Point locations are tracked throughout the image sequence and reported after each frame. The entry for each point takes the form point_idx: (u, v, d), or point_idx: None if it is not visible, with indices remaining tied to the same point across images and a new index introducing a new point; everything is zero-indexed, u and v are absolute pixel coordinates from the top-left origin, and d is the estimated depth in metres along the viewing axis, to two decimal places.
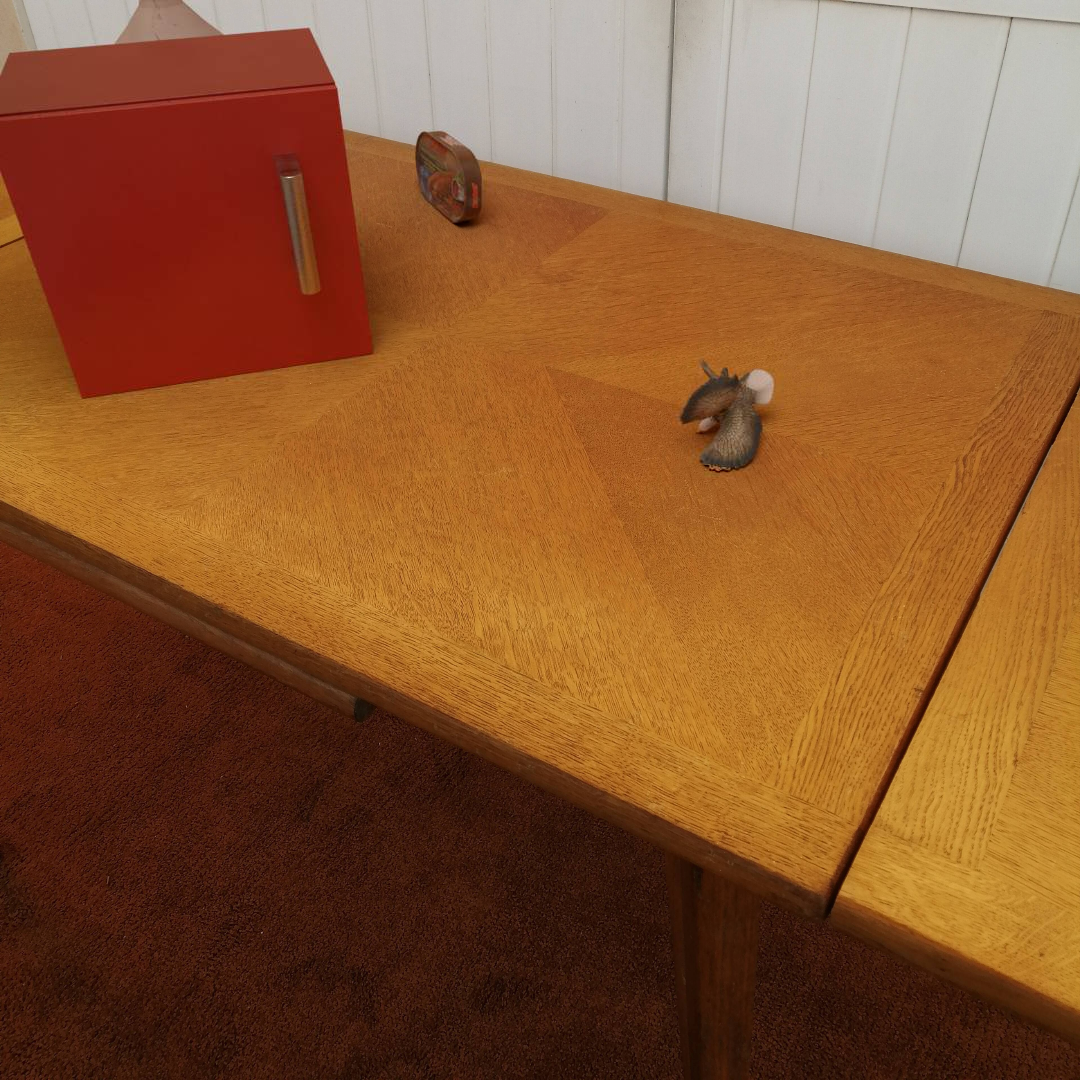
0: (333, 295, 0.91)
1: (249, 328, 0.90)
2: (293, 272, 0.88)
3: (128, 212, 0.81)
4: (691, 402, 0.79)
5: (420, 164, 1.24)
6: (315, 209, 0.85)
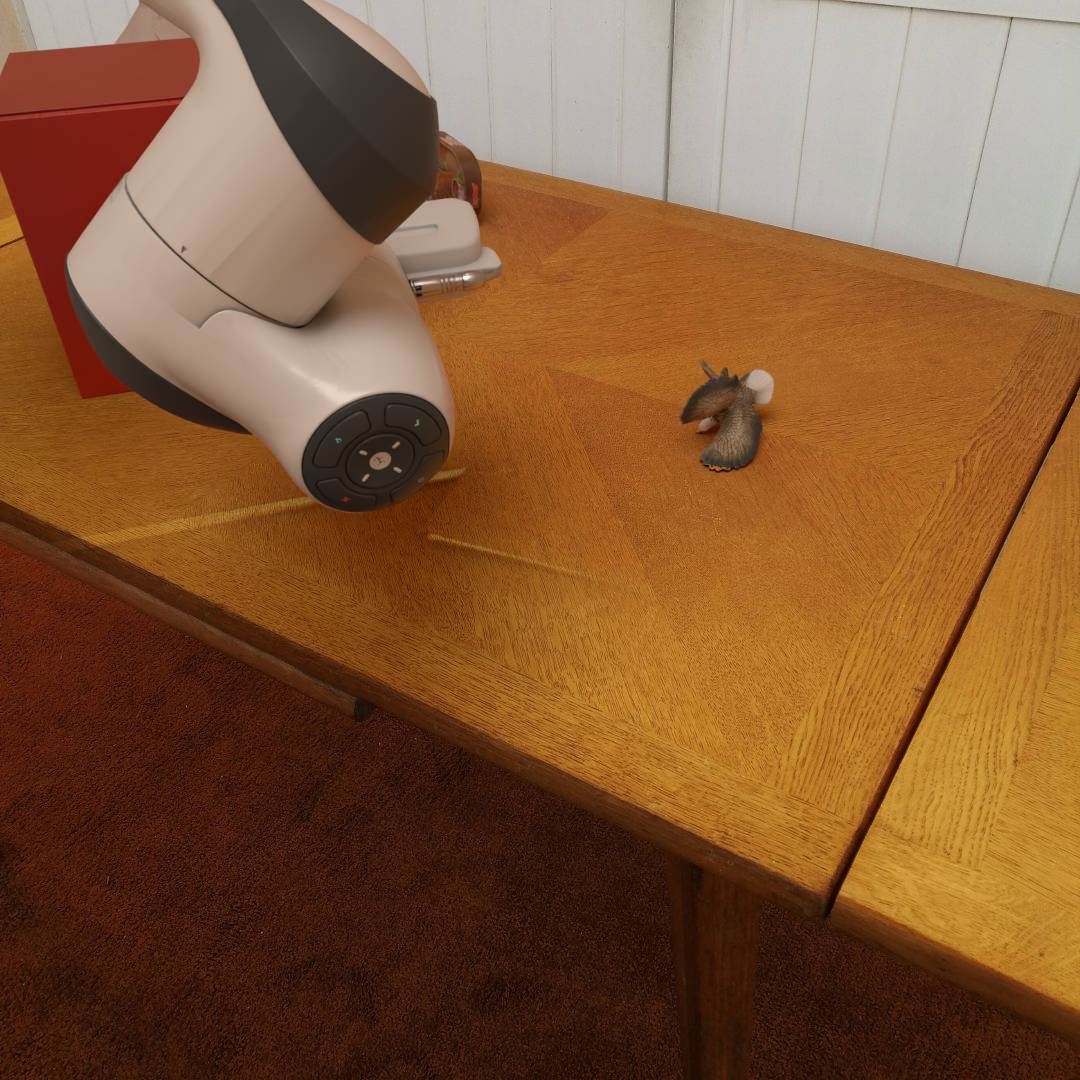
0: None
1: None
2: None
3: None
4: (691, 402, 0.79)
5: None
6: None
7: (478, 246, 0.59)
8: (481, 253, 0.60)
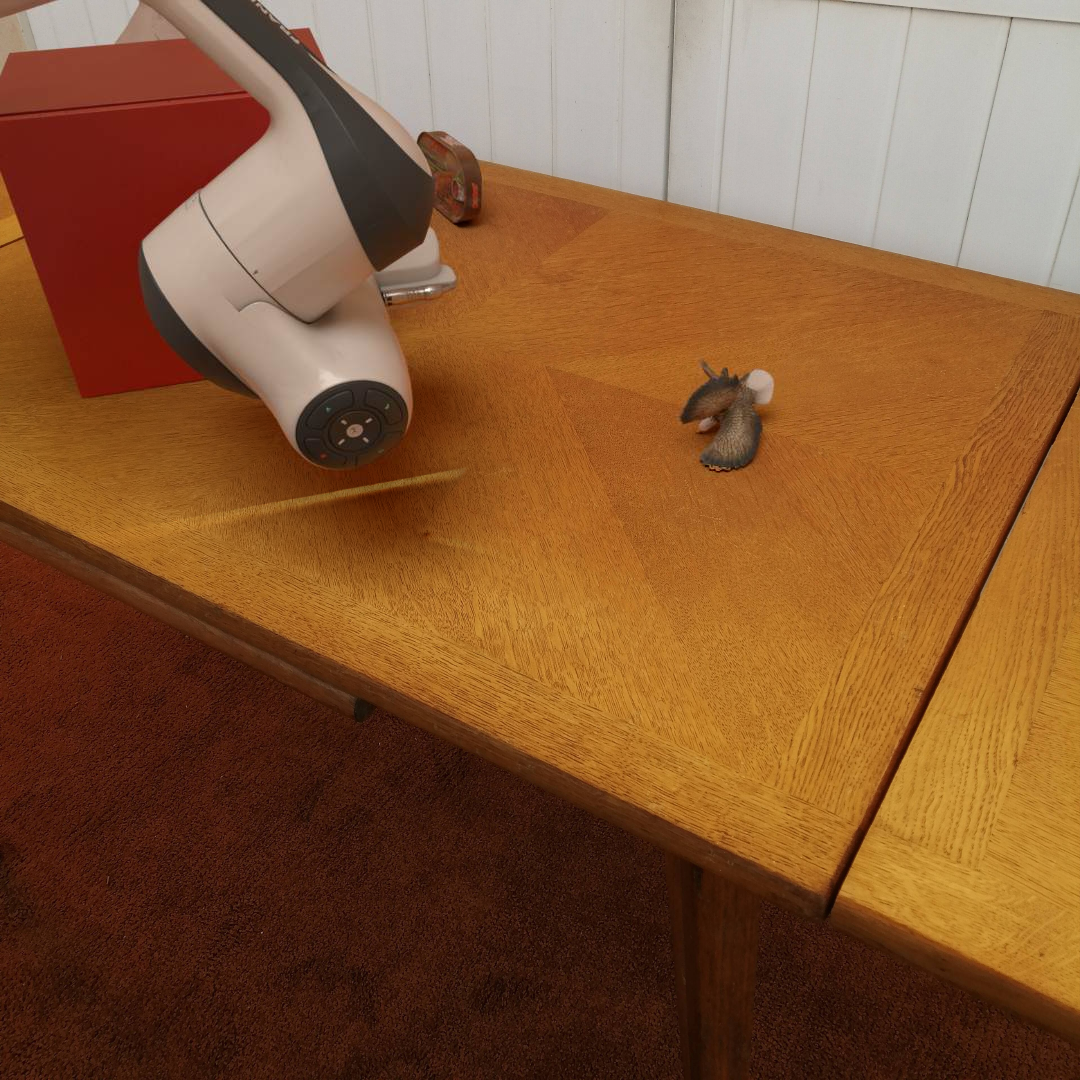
0: None
1: None
2: None
3: (128, 212, 0.81)
4: (691, 402, 0.79)
5: None
6: None
7: (437, 264, 0.75)
8: (440, 270, 0.75)
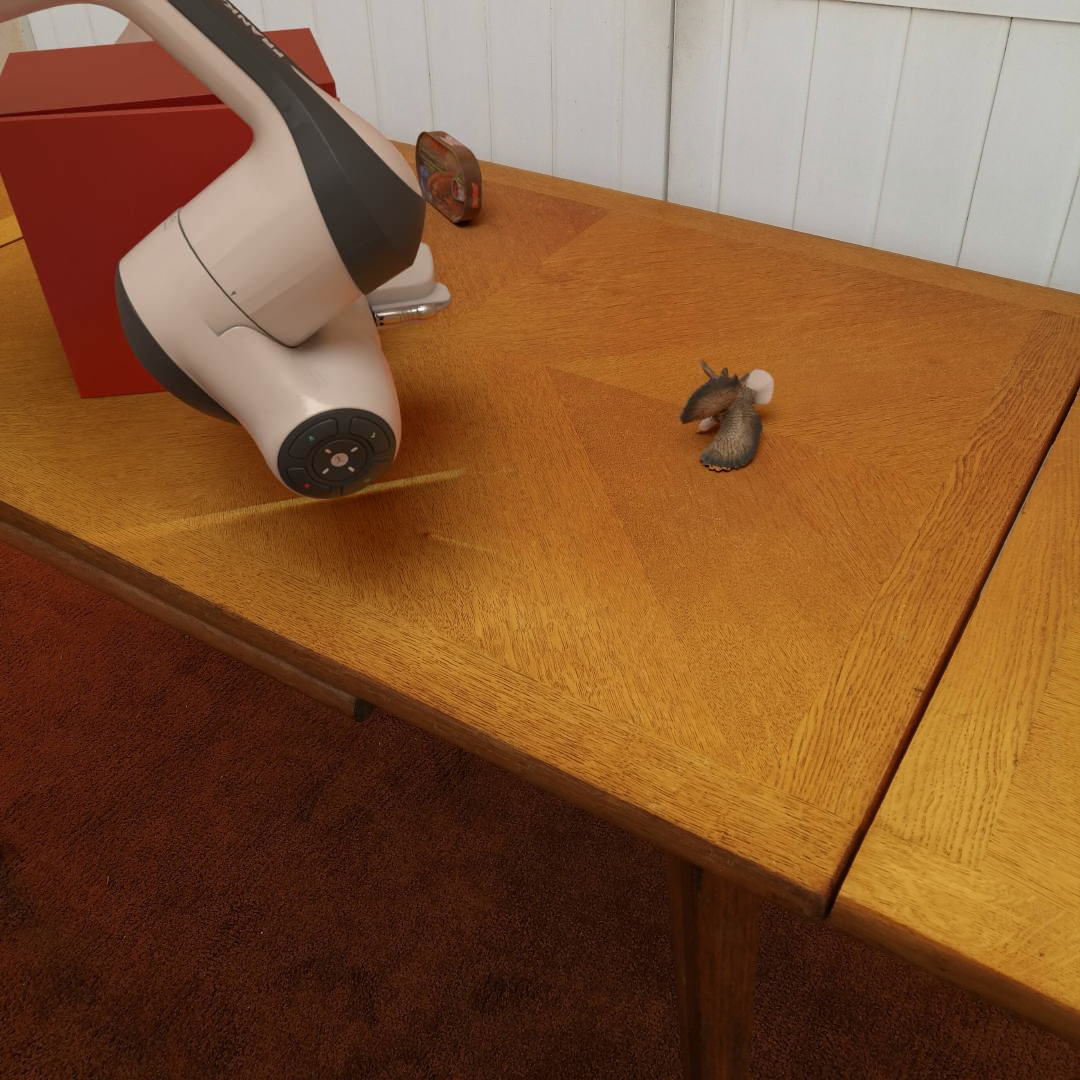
0: None
1: None
2: None
3: (126, 218, 0.80)
4: (691, 402, 0.79)
5: (420, 164, 1.24)
6: None
7: (431, 283, 0.72)
8: (435, 288, 0.73)
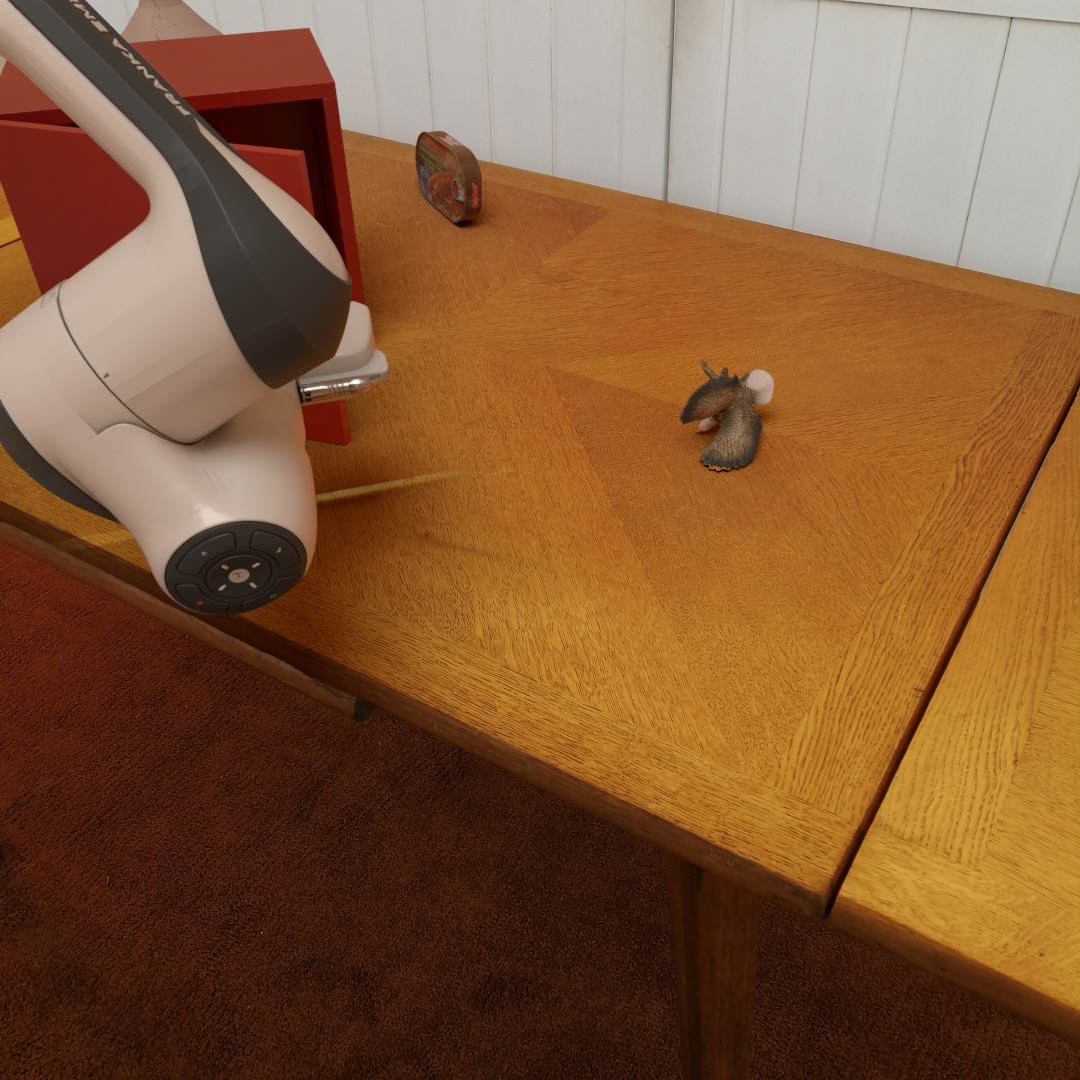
0: None
1: None
2: None
3: (105, 237, 0.78)
4: (691, 402, 0.79)
5: (420, 164, 1.24)
6: None
7: (367, 352, 0.64)
8: (371, 357, 0.65)
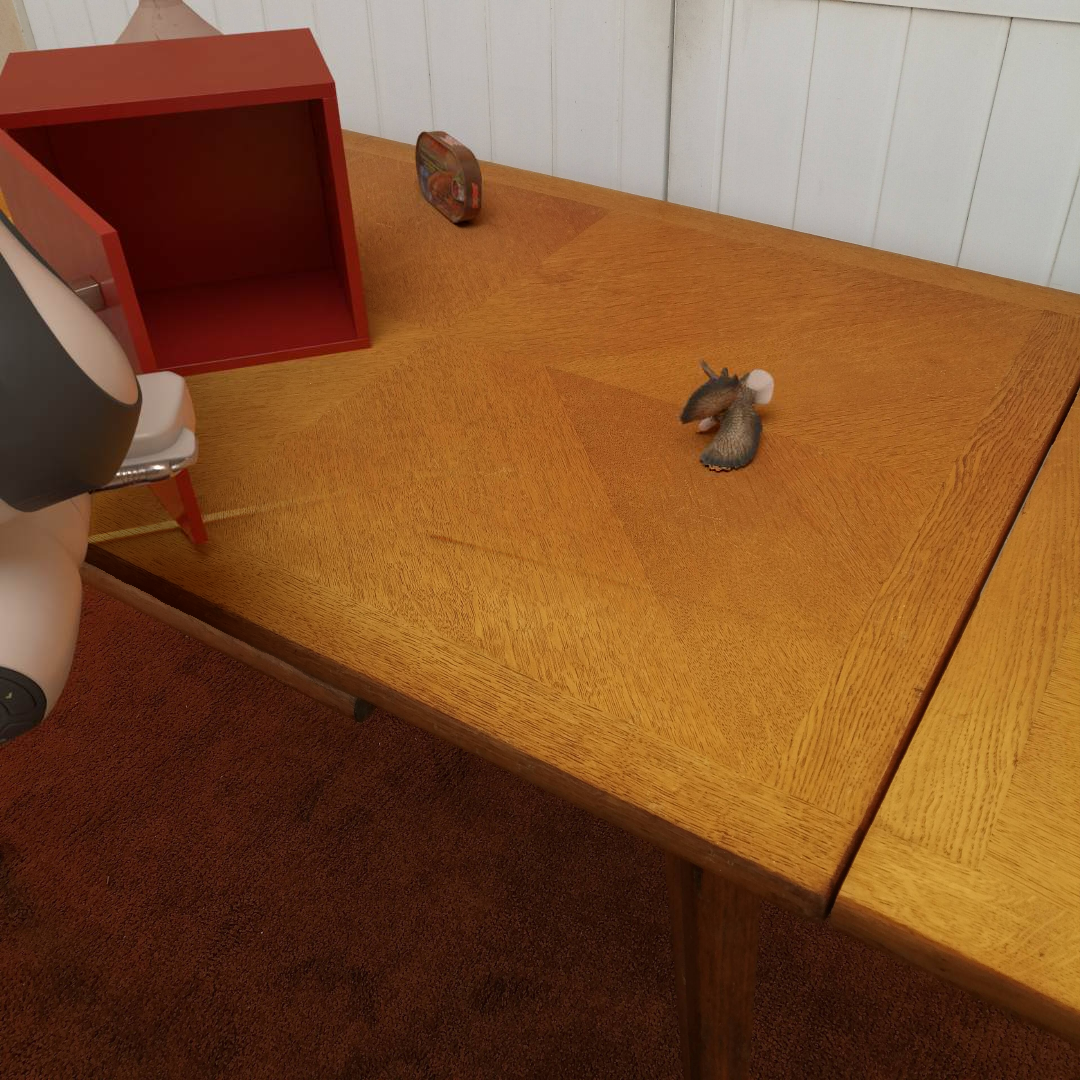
0: None
1: None
2: None
3: (47, 259, 0.75)
4: (691, 402, 0.79)
5: (420, 164, 1.24)
6: None
7: (170, 433, 0.58)
8: (178, 438, 0.58)
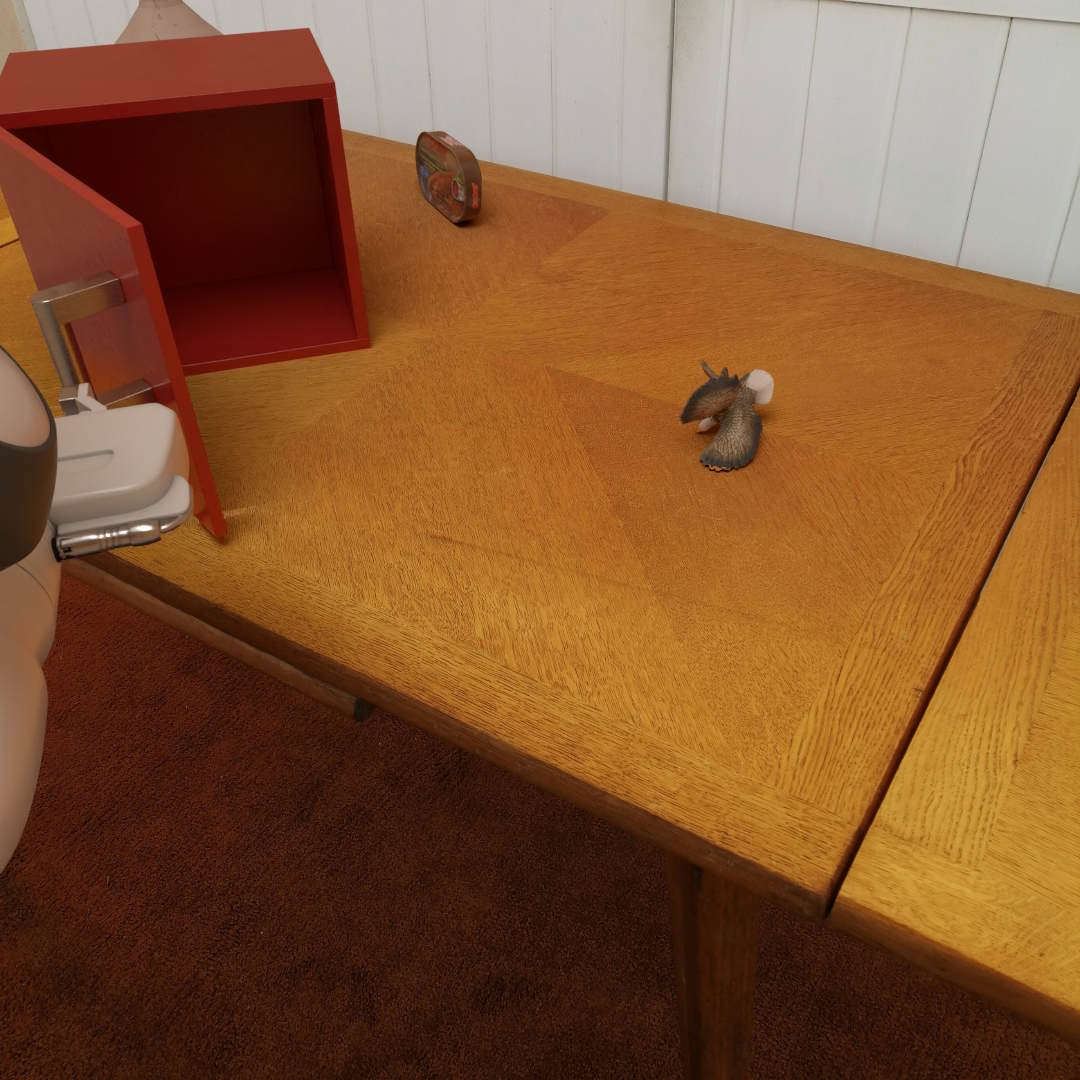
0: None
1: None
2: None
3: (53, 258, 0.75)
4: (691, 402, 0.79)
5: (420, 164, 1.24)
6: (145, 350, 0.67)
7: (159, 484, 0.47)
8: (169, 488, 0.47)
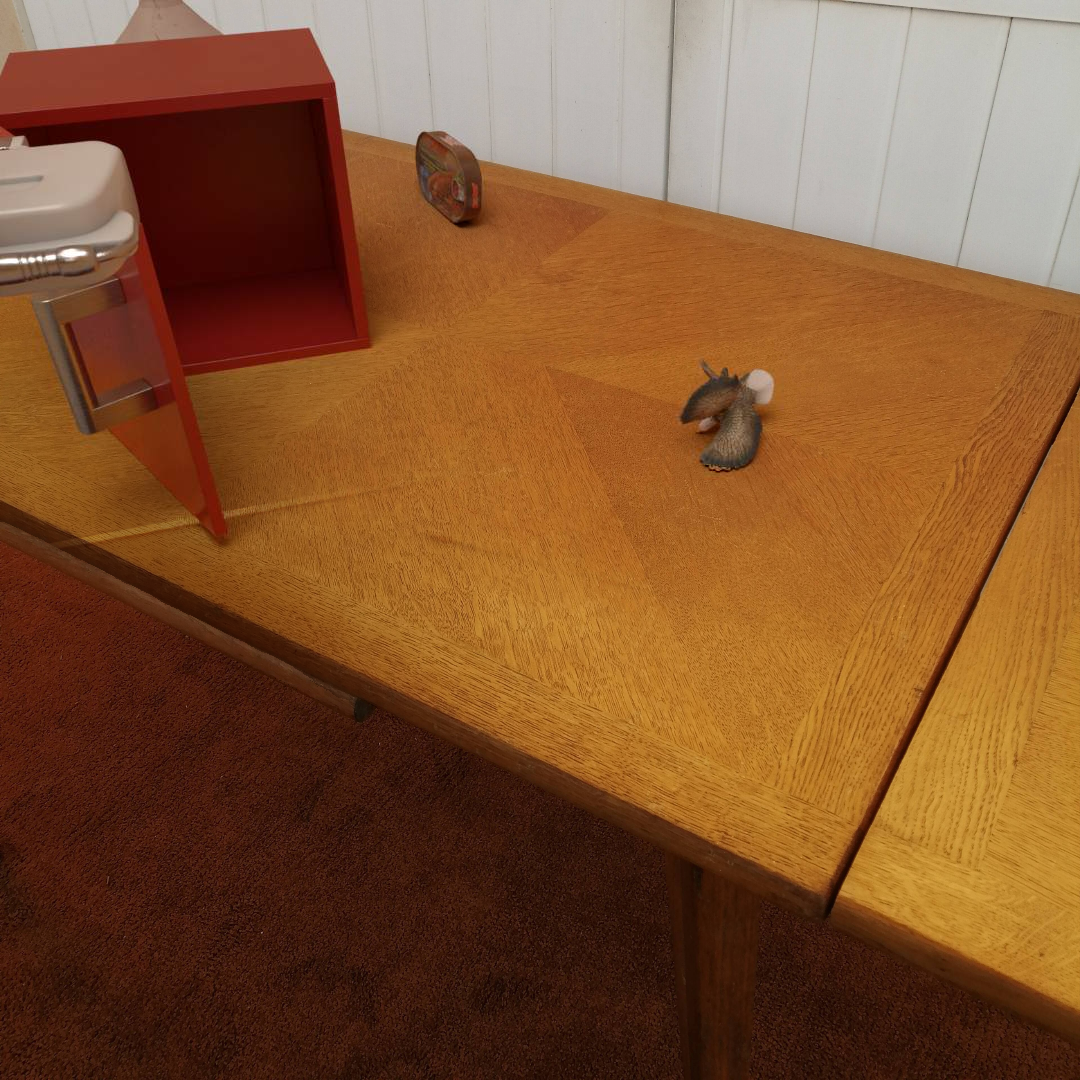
0: (177, 450, 0.72)
1: (138, 429, 0.78)
2: None
3: None
4: (691, 402, 0.79)
5: (420, 164, 1.24)
6: (145, 350, 0.67)
7: (96, 209, 0.39)
8: (109, 220, 0.40)
